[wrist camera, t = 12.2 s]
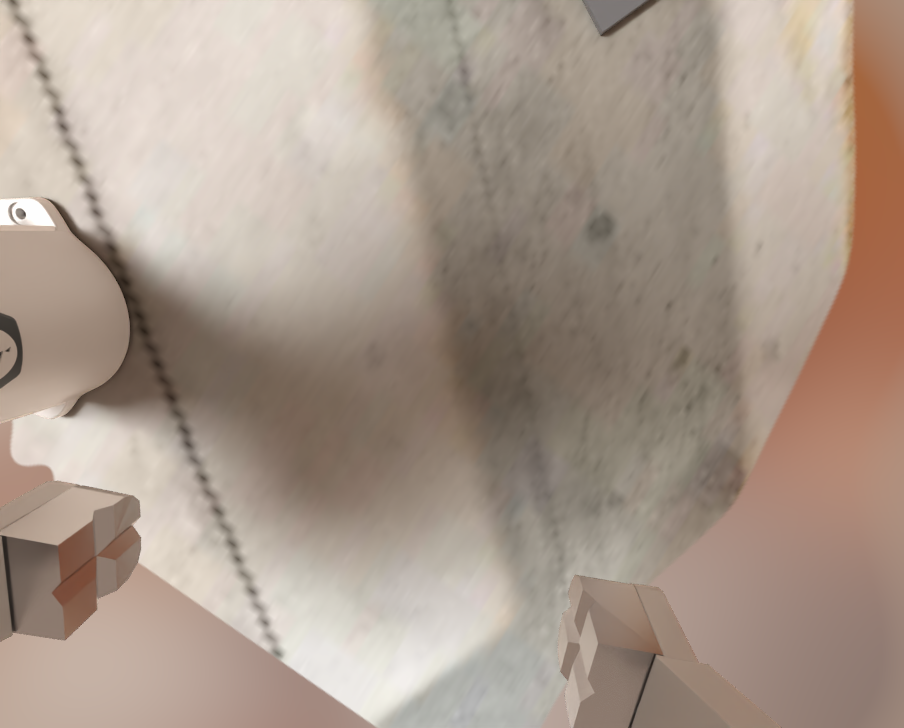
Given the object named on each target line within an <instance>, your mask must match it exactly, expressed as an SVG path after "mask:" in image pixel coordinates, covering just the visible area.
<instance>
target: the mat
mask: <svg viewBox="0 0 904 728" xmlns="http://www.w3.org/2000/svg"><path fill="white" fill-rule="evenodd" d="M582 1H583V2H584V4H585V6H586V8H587V10H588V12H589V14H590V16H591V18H592V20H593V22H594V24H595V26H596V28H597V30H598V31H599V33H600V35H602V34H603V33H605V32H606V31H608V30H609V29H610V28H612V27H613V26H615V25H616V24H617V23H619V22H620V21H622V20H623V19H624V18H626V17H627V16H628V15H630V14H631V13H633V12H634V11H635V10H637V9H638V8H640V7H641V6H642V5H644V4H645V3H647V2H648V1H649V0H582Z"/></svg>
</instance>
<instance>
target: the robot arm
mask: <svg viewBox="0 0 904 728" xmlns="http://www.w3.org/2000/svg"><path fill="white" fill-rule="evenodd" d="M24 211H25V213H26V217H25V215H24ZM129 337H130V322H129V315H128V310H127V306H126V302H125V299H124V296H123V294H122V291H121V289H120V287H119V285H118V283H117V281H116V280H115V278H114V276H113V275H112V273H111V272H110V270H109V269H108V268H107V266H106V265H105V264H104V263H103V262H102V260H101V259H100V258H99V257H98V256H97V255H96V254H95V253H94V252H93V251H92V250H90V249H89V248H88V247H87V246H86V245H84V244H83V243H82V242H81V241H80V240H79V239H77V238H76V237H75V236H74V235H73V234H72V232H71V231H70V230H69V228H68V226H67V224H66V223H65V221H64V219H63V218H62V216H61V215H60V213H59V212H58V210H57V209H56V208H55V206H54V205H53V204H52V203H51V202H50V201H48V200H47V199H45V198H41V197H30V198H9V199H0V424H1V423H4V422H7V421H10V420H14V419H17V418H20V417H23V416H27V415H30V414H35V415H37V416H40V417H43V418H46V419H54V418H57V417H61V416H64V415H65V414H67V413H68V412H69V411H70V410H71V409H72V407H73V406H74V405H75V403H76V402H77V400H78V399H79V397H80V396H82V395H83V394H85V393H87V392H89V391H91V390H93V389H95V388H97V387H99V386H101V385H102V384H104V383H105V382H107V381H108V380H109V379H110V378H111V377H112V376H113V375H114V374H115V373H116V371H117V370H118V369H119V367H120V366H121V364H122V362H123V360H124V358H125V355H126V352H127V349H128V344H129ZM140 517H141V516H140V502H139V500H138V499H137V498H135V497H134V496H133V495H128V494H123V493H118V492H113V491H108V490H103V489H98V488H93V487H88V486H80V485H77V484H72V483H67V482H61V481H50V482H45V483H43V484H42V485H40V486H38V487H36V488H34V489H33V490H31V491H29V492H27V493H25V494H24V495H22V496H20V497H18V498H16V499H15V500H13V501H11V502H9V503H8V504H6V505H4V506H2V507H1V508H0V642H1V641H2V640H5V639H7V638H9V637H11V636H12V635H13V633H19V634H26V635H32V636H39V637H45V638H52V639H58V640H66V639H67V638H68V637H69V636H70V635H71V634H72V633H73V632H74V631H75V630H77V629H78V627H80V626H81V625H82V624H83V623H84V622H85V621H86V620H87V619H88V618H89V617H90V616H91V615H92V614H93V613H94V612H95V611H96V610H97V606H98V598H100V597H103V596H105V595H108V594H110V593H112V592H115V591H117V590H118V589H119V588H120V587H121V586H122V585H123V584H124V583H125V582H126V581H127V580H128V579H129V577H130V575H131V574H132V572H133V570H134V568H135V566H136V565H137V563H138V560H139V555H140V551H141V537H140V535H139V534H138V533H137V531H136V530H135V528H134V527H133V525H134V523H135V522H136V521H137V520H138V519H139V518H140ZM568 596H569V600H570V605H571V607H570V608H569V609H568V610H566V611H565V612H564V613H562V618H561V622H560V626H559V634H558V660H559V667H560V672H561V673H562V674H563V676H564V677H565V678H566V679H567V680H568V684H567V687H566V691H565V695H564V696H565V702H566V708H567V713H568V719H569V725H570V728H782V727H781V726H779V725H778V724H777V723H776V722H775V721H773V720H772V719H771V718H770V717H769V716H768V715H766V714H765V713H764V712H763V711H762V710H761V709H759V708H758V707H757V706H756V705H755V704H754V703H752V702H751V701H750V700H749V699H748V698H747V697H745V696H744V695H743V694H742V693H741V692H740V691H738V690H737V689H736V688H735V687H734V686H733V685H732V684H730V683H729V682H728V681H727V680H726V679H725V678H723V677H722V676H721V675H720V674H719V673H717V672H716V671H715V670H714V669H713V668H711V667H710V666H709V665H708V664H703V663H699V662H698V660H697V658H696V656H695V654H694V652H693V650H692V648H691V646H690V644H689V642H688V640H687V638H686V636H685V634H684V632H683V630H682V628H681V626H680V624H679V623H678V620H677V618H676V616H675V614H674V612H673V610H672V608H671V606H670V604H669V603H668V601H667V599H666V597H665V595H664V593H663V591H661V590H660V589H659V588H658V587H653V586H646V585H639V584H632V583H630V584H626V583H620V582H615V581H609V580H603V579H597V578H591V577H585V576H579V575H574V577H573V579H572V581H571V584H570V587H569V591H568Z"/></svg>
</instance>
